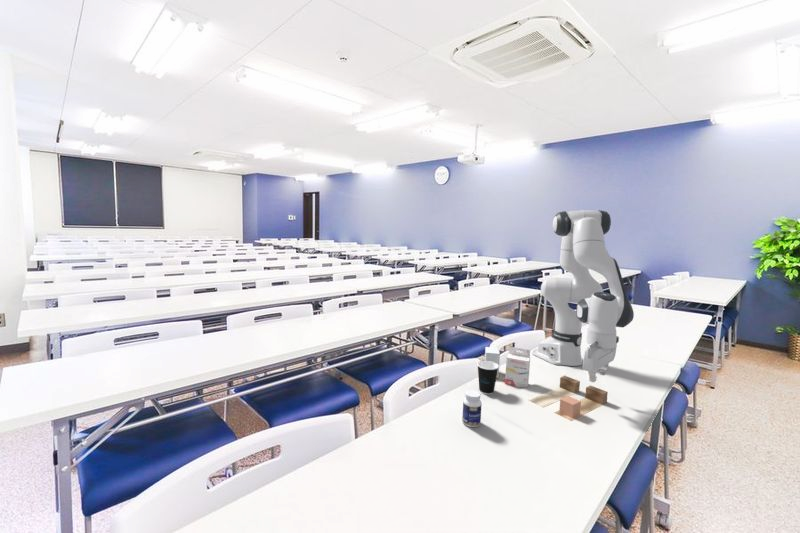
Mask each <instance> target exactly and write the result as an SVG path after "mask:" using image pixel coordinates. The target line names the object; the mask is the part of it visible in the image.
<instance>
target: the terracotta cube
mask: <svg viewBox="0 0 800 533" xmlns="http://www.w3.org/2000/svg"><path fill="white" fill-rule="evenodd" d="M580 407H581V401H580V400H579V399H577V398H575V397H572V396H566V397H564V398H562V399H560V400H559V412H560V413H562V414H564V415H567V416H569V417H571V418H574V417H576V416H578V415H579V414H580Z"/></svg>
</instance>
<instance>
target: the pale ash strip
mask: <svg viewBox="0 0 800 533" xmlns="http://www.w3.org/2000/svg"><path fill="white" fill-rule="evenodd" d="M580 383H581V382H580V380H578V379H574V378H572V377H570V376H566V375H563V376H561V377H560V378H559V387H557V388H555V389H553V390H550V391H547V392H545V393H543V394H540V395H538V396H535V397H533V398H530V399H528V401H529V402H531V403H534V404H535V405H537V406H540V407H542V408H546V407H548V406H550V405H553V404H554V403H556V402H560V399H562V398H564V397H566V396H570V397H572V396H573V395H574V394H577V393H579V392H580Z"/></svg>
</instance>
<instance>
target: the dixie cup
mask: <svg viewBox="0 0 800 533" xmlns="http://www.w3.org/2000/svg"><path fill="white" fill-rule="evenodd" d="M476 366H477V374H478V390H479V393H480V394H484V395H492V394H493V393H494V392H495V387H496V382H497V381H496V380H497V378H496V376H497V370H498V368H499V369H500V364H499V365H498V364H496V363H494V362H491V361H485V360H480V361H478V362H477V363H476Z"/></svg>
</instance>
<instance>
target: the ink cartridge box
mask: <svg viewBox="0 0 800 533" xmlns="http://www.w3.org/2000/svg"><path fill="white" fill-rule="evenodd" d="M505 361H506V364H505V365H506V366H505V374H504V375H505V376H504V377H505V379H504V384H505V385H507V386H513V387H517V388H522V389H524V388H528V386H529V380H530V369H531V368H530V367H531V366H530V365H531V349H527V348H521V347H514V346H509V347H508V354H507V356H506V360H505Z"/></svg>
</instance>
